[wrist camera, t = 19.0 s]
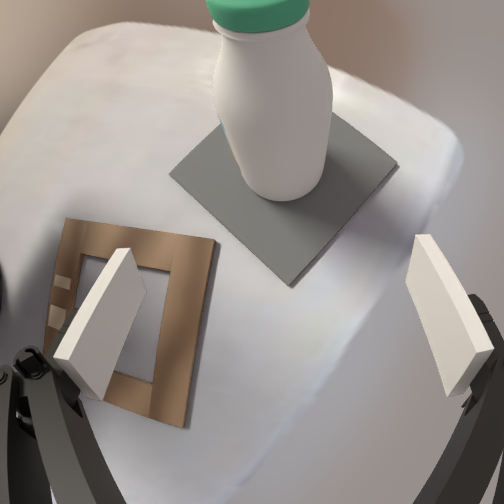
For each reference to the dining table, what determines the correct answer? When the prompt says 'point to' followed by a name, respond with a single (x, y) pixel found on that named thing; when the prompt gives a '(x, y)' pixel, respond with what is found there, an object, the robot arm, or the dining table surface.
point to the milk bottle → (272, 94)
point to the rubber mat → (285, 212)
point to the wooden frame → (174, 315)
